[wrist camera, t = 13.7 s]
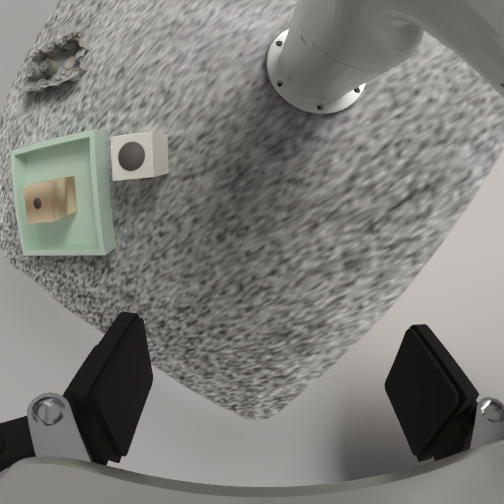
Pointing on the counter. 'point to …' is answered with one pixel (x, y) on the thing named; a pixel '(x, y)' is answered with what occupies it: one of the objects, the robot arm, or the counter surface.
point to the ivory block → (139, 155)
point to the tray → (87, 195)
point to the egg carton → (55, 63)
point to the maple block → (50, 200)
